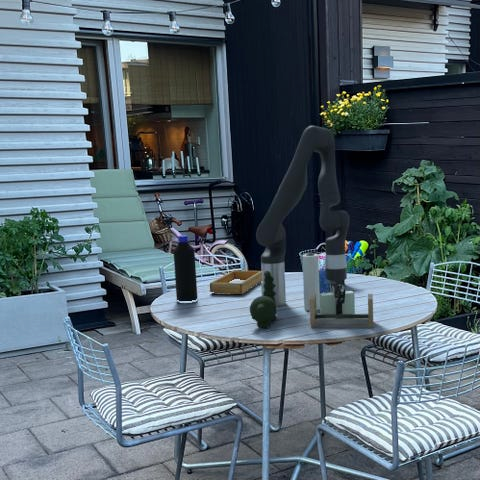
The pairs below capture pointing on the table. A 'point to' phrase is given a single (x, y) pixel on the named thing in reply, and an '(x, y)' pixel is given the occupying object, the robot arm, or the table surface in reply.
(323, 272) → the grapes
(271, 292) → the toy figurine
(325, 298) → the pale green rectangular block
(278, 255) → the robot arm
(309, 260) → the paper towel roll
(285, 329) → the table surface
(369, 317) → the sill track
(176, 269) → the bottle
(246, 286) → the tray
